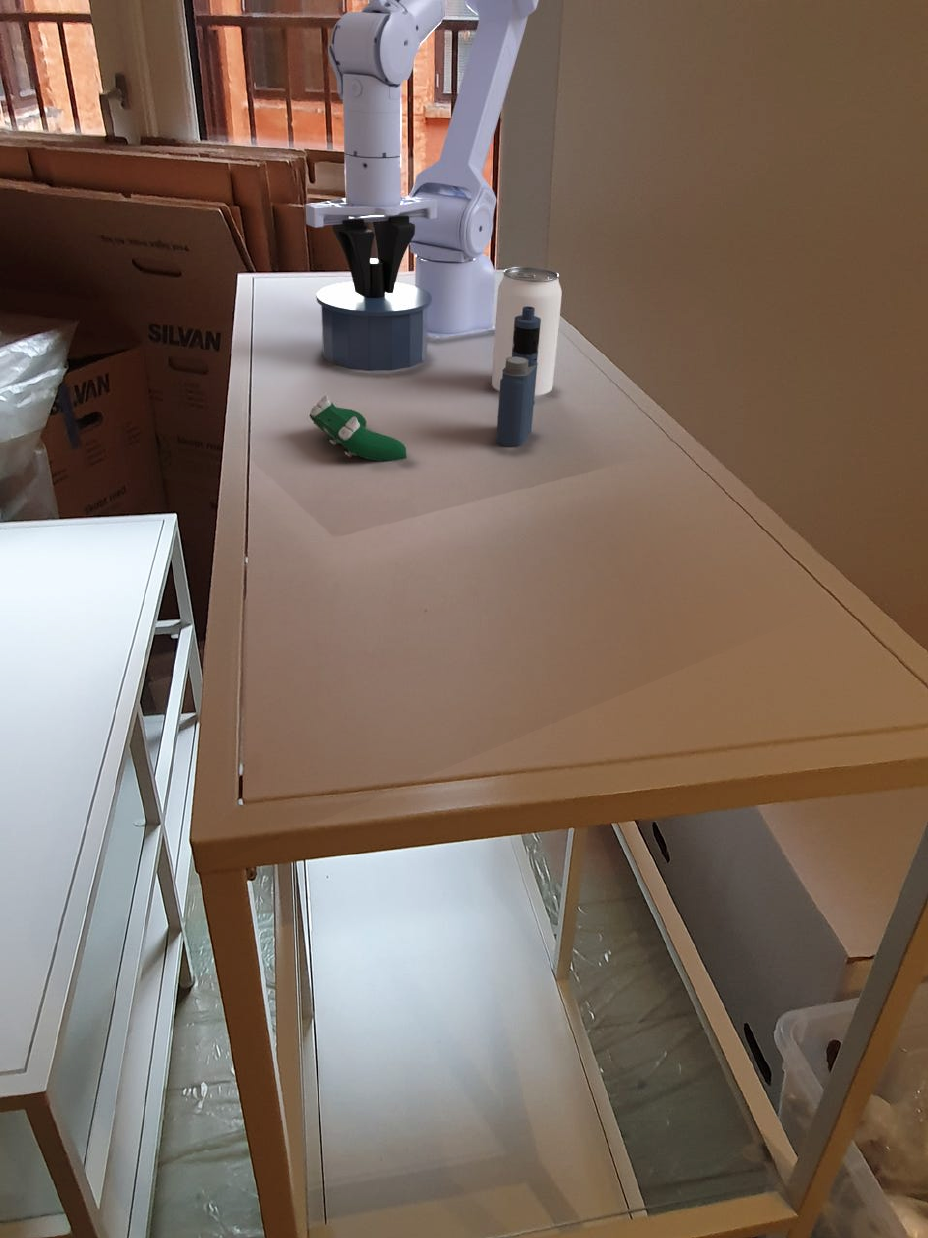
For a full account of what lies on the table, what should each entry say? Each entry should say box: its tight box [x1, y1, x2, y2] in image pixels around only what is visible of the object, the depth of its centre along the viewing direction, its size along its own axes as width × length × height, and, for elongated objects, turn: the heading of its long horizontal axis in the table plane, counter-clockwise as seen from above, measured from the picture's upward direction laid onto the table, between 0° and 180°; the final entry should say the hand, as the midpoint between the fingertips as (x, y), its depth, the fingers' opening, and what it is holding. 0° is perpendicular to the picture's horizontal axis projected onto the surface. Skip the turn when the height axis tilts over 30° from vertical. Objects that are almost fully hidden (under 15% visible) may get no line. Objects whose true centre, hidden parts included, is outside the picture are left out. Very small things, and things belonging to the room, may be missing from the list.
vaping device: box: [495, 306, 541, 448], centre depth 82 cm, size 3×5×12 cm, turn 161°
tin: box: [320, 305, 428, 372], centre depth 102 cm, size 12×12×6 cm
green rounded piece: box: [309, 395, 407, 462], centre depth 81 cm, size 9×4×6 cm
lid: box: [315, 258, 432, 316], centre depth 99 cm, size 13×13×5 cm
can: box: [491, 266, 563, 397], centre depth 94 cm, size 6×6×12 cm
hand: (374, 292), depth 100 cm, fingers closed on lid, 2 cm apart
